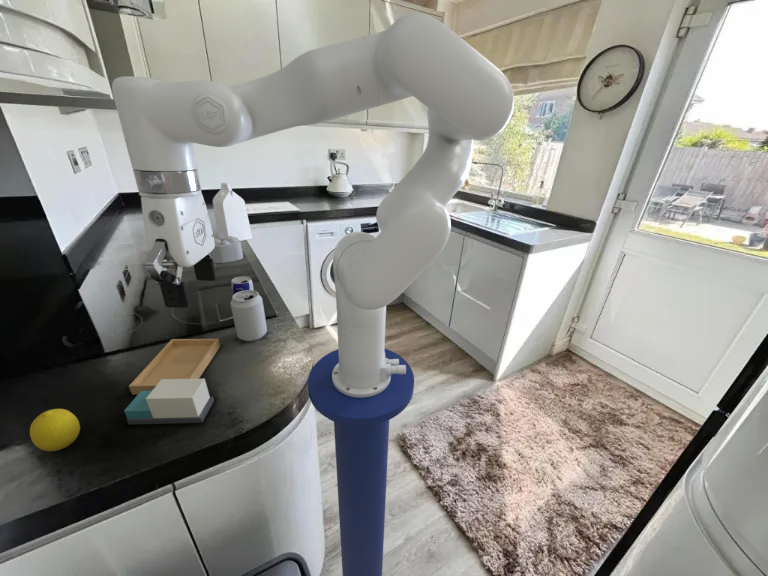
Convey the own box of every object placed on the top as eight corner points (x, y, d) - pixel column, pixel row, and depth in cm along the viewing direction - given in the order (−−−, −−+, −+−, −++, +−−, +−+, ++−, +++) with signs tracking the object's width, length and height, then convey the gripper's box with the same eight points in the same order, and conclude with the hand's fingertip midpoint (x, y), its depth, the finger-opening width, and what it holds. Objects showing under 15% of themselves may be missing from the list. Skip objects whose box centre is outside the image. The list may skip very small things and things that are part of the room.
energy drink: (246, 324, 90) (239, 285, 85) (234, 318, 92) (226, 280, 87) (261, 315, 94) (255, 278, 89) (249, 310, 97) (243, 274, 91)
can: (255, 345, 81) (247, 304, 76) (230, 339, 83) (221, 298, 78) (273, 330, 88) (267, 290, 82) (250, 324, 90) (243, 286, 85)
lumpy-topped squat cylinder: (244, 259, 134) (241, 239, 131) (210, 265, 128) (205, 244, 124) (238, 252, 142) (235, 232, 138) (206, 257, 135) (201, 237, 131)
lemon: (56, 466, 51) (34, 431, 48) (35, 454, 53) (12, 420, 50) (94, 438, 56) (76, 404, 53) (74, 429, 58) (55, 395, 54)
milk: (252, 238, 160) (243, 183, 149) (229, 243, 152) (218, 186, 141) (240, 233, 167) (231, 181, 156) (218, 237, 159) (207, 183, 148)
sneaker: (214, 400, 65) (207, 377, 62) (202, 422, 60) (194, 398, 57) (146, 402, 64) (137, 378, 61) (128, 424, 59) (117, 400, 56)
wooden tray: (220, 346, 81) (218, 338, 80) (189, 393, 66) (186, 384, 65) (174, 346, 80) (171, 339, 79) (132, 394, 65) (128, 385, 64)
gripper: (162, 194, 38) (192, 320, 45) (221, 176, 53) (236, 272, 61) (94, 191, 37) (135, 319, 44) (174, 174, 53) (194, 271, 60)
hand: (193, 292), depth 52 cm, fingers open, 9 cm apart
